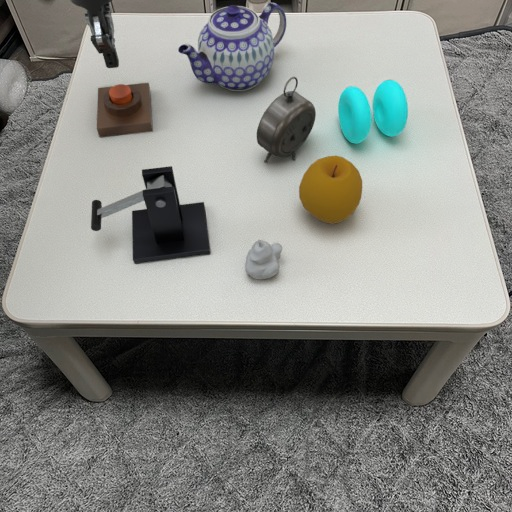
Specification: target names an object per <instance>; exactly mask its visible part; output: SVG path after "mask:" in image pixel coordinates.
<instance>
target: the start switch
mask: <svg viewBox="0 0 512 512" xmlns="http://www.w3.org/2000/svg"><path fill="white" fill-rule="evenodd" d="M126 85H127V86H129V87H130V89H131V93H132V100H131V101H130V102H129V103H127V104H124V105H116V104H114V103H112V101H111V98H110V94H109V90H110V89H111V88H112V87H113V86H114V85H113V86H112V85H111V86H110V85H109V86H103V87H102V86H101V87H97V104H96V105H97V107H96V130H97V133H98V137H99V138H105V137H115V136H123V135H132V134H134V135H135V134H140V133H141V134H142V133H150V132H151V133H152V132H153V131H154V130H153V129H154V128H153V111H152V109H153V108H152V91H151V88H150V83H149V82H141V83H129V84H126Z"/></svg>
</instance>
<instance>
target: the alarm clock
mask: <svg viewBox="0 0 512 512" xmlns="http://www.w3.org/2000/svg"><path fill="white" fill-rule="evenodd" d="M292 80H295V86H294V89H292V90H289V91H286V90H287V87H288V85H289V84H290V82H291V81H292ZM298 84H299V81H298V77H297V76H291V77H290V78H289V79H288V80H287V81H286V83H285V84H284V88H283V93H282V94H280V95H279V96H277V97H276V98H275V99H273V101H272V102H271V103H269V105H268V106H267V108H265V110H264V112H263V114H262V116H261V118H260V120H259V123H258V126H257V129H256V142H257V144H258V146H260V148H262V149H264V150H265V151H267V154H266V157H265V159H264V161H263V162H264V164H268V162H269V160H270V158H271V157H272V156H273V157H274V158H277V159H283V158H287V157H289V156H291V157H292V160H293V161H296V160H297V157H296V151H297V150H298V149H300V147H302V146H303V145H304V143H305V142H306V140H307V139H308V138H309V135H310V134H311V133H312V130H313V128H314V125H315V121H316V116H317V113H316V108H315V106H314V103H313V102H312V101H310V100H309V99H307V98H306V97H304V96H302V95H301V94H300V93H298V92H297V91H296V90H297V88H298Z"/></svg>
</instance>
